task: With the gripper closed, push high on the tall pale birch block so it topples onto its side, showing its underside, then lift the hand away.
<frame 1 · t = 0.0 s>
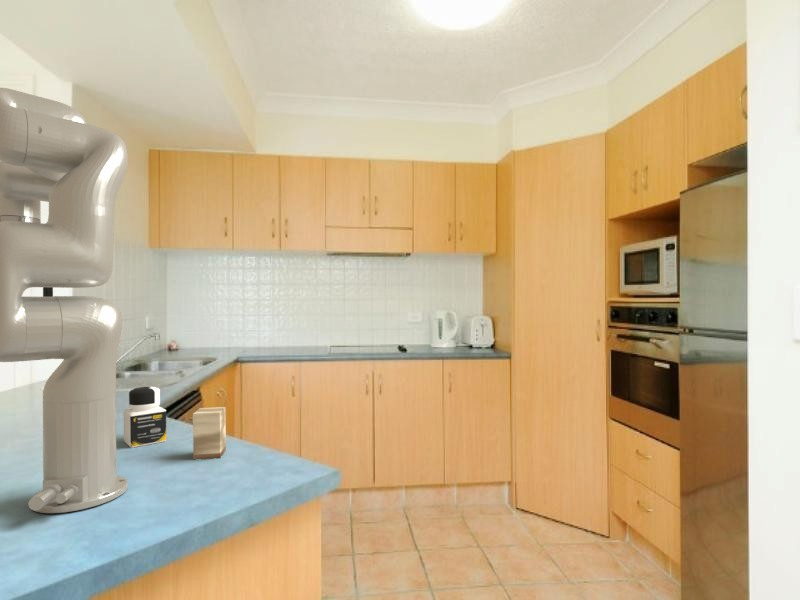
hand: (19, 303, 103), 31 cm above the worktop, tool pointing down, fingers open, 9 cm apart
birch block: (210, 455, 93), on the worktop
medicine bottle: (145, 442, 103), on the worktop
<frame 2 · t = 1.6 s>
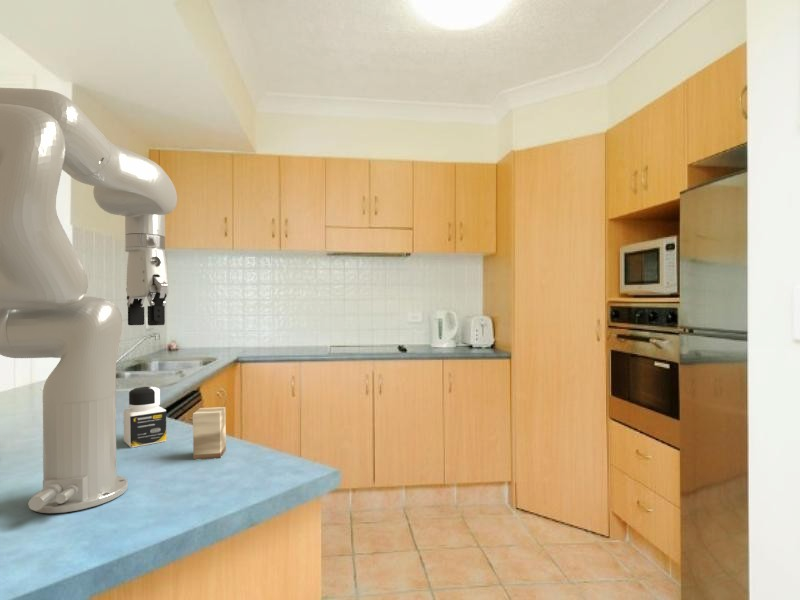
hand: (145, 325, 99), 26 cm above the worktop, tool pointing down, fingers open, 9 cm apart
nothing on the worktop moved.
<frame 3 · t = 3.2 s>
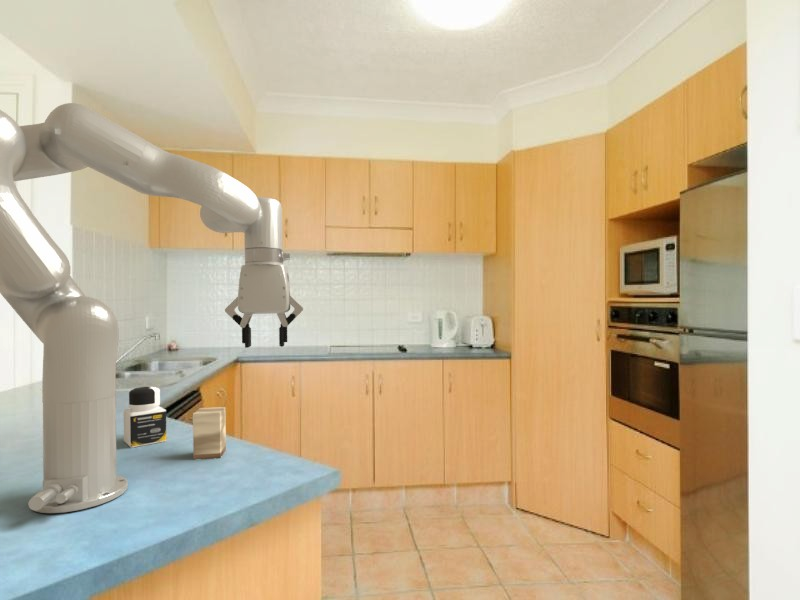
hand: (265, 345, 95), 22 cm above the worktop, tool pointing down, fingers open, 6 cm apart
nothing on the worktop moved.
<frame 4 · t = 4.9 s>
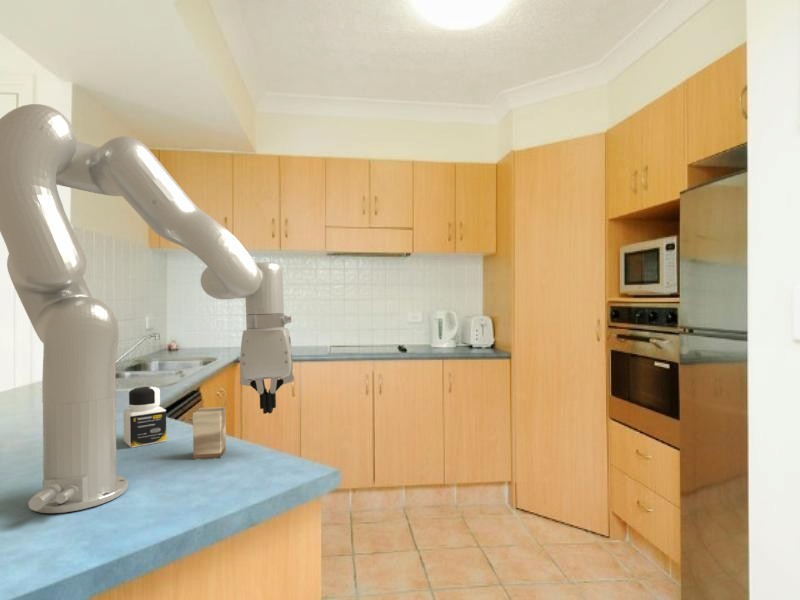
hand: (268, 411, 95), 8 cm above the worktop, tool pointing down, fingers closed
nothing on the worktop moved.
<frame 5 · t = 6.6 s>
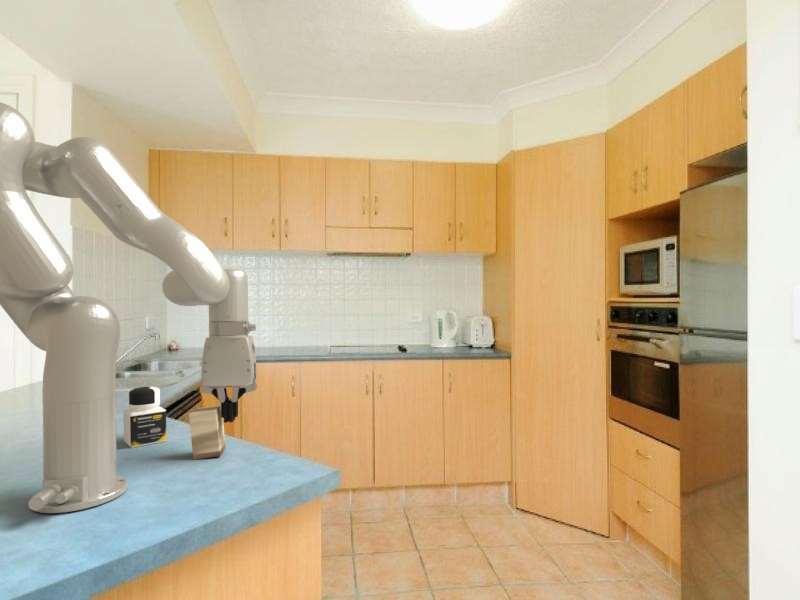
hand: (229, 420, 94), 7 cm above the worktop, tool pointing down, fingers closed
birch block: (210, 453, 93), on the worktop, touching gripper
everything else where it was.
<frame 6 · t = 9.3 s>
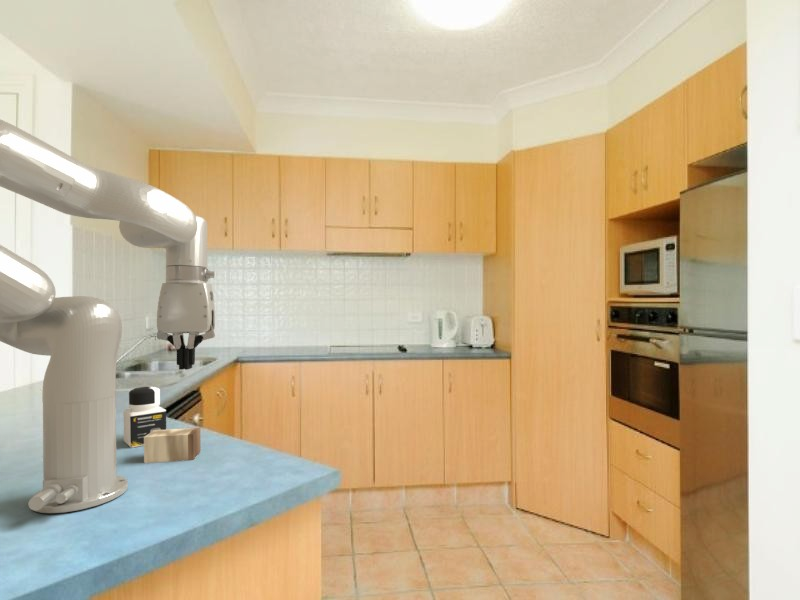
hand: (185, 368, 92), 18 cm above the worktop, tool pointing down, fingers closed
birch block: (197, 443, 93), point 2 cm above the worktop, tilted 90°
everything else where it was.
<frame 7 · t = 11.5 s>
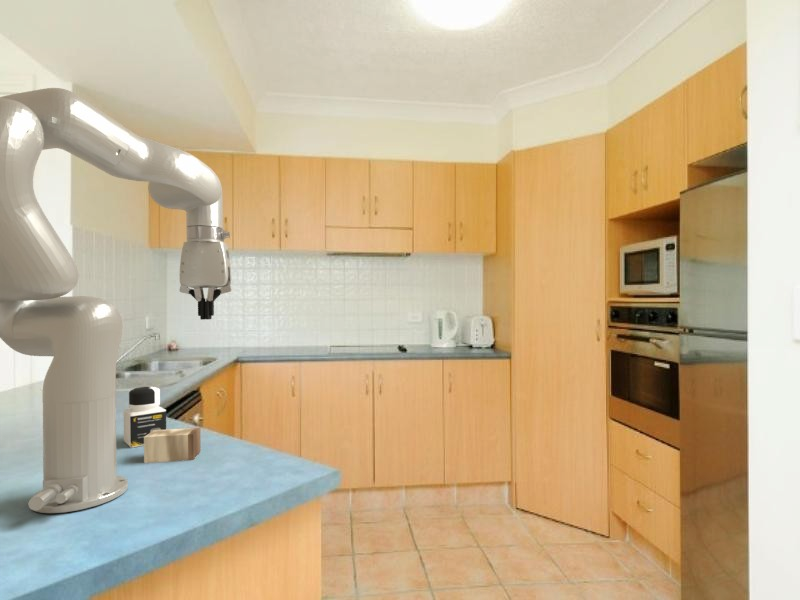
hand: (206, 319, 103), 27 cm above the worktop, tool pointing down, fingers closed
nothing on the worktop moved.
at the end: birch block tilted 90°; birch block inside the target area (0.5 cm from its centre), point 2.4 cm above the worktop; the gripper is holding nothing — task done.
